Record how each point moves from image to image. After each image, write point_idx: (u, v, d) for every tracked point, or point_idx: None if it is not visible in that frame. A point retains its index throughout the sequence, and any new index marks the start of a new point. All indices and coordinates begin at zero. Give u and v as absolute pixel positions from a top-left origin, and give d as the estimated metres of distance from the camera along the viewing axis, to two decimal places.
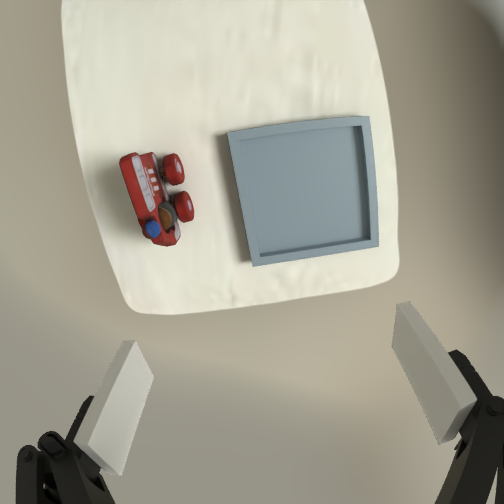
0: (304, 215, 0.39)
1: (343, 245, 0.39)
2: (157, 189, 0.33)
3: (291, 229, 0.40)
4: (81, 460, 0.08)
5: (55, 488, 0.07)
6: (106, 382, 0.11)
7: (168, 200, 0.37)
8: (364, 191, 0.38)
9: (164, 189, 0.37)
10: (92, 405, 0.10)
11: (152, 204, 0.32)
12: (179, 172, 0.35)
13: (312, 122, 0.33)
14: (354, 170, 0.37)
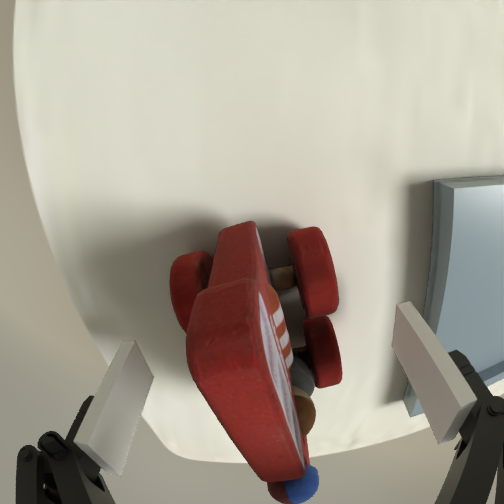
0: (497, 333, 0.17)
1: None
2: (292, 359, 0.11)
3: (475, 355, 0.18)
4: (81, 460, 0.08)
5: (55, 488, 0.07)
6: (106, 382, 0.11)
7: None
8: None
9: None
10: (92, 405, 0.10)
11: None
12: None
13: None
14: None
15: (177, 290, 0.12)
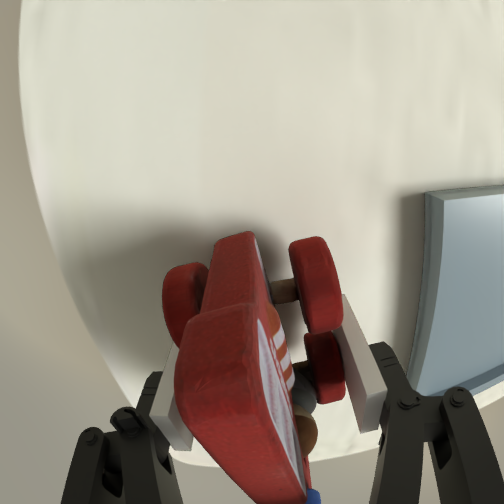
0: (491, 338, 0.17)
1: None
2: (293, 380, 0.10)
3: (469, 360, 0.18)
4: (155, 435, 0.09)
5: (118, 472, 0.08)
6: (174, 355, 0.12)
7: None
8: None
9: None
10: (163, 378, 0.11)
11: None
12: None
13: None
14: None
15: (170, 306, 0.11)
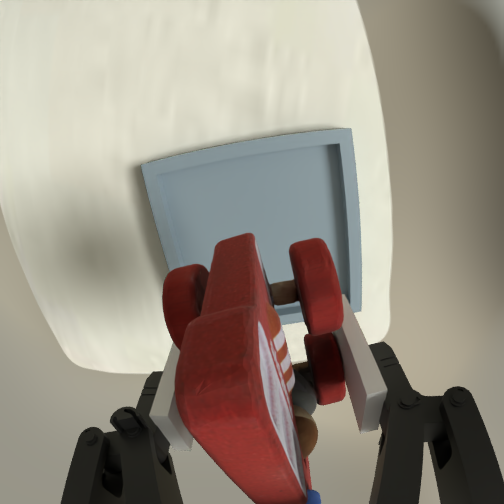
0: None
1: None
2: (293, 381, 0.10)
3: None
4: (155, 435, 0.09)
5: (118, 472, 0.08)
6: (174, 355, 0.12)
7: None
8: (343, 238, 0.27)
9: None
10: (163, 378, 0.11)
11: None
12: None
13: (261, 142, 0.23)
14: (328, 209, 0.26)
15: (170, 307, 0.11)
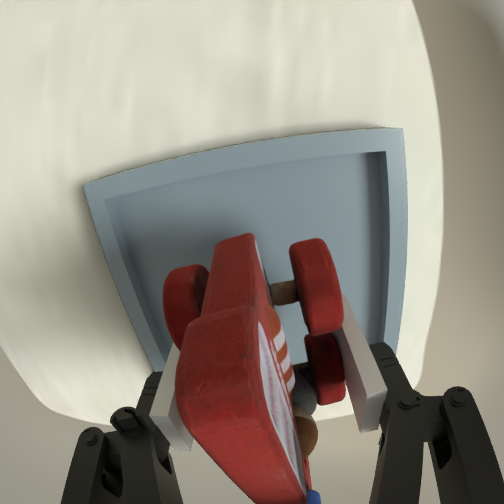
0: None
1: None
2: (293, 381, 0.10)
3: None
4: (155, 435, 0.09)
5: (118, 472, 0.08)
6: (174, 355, 0.12)
7: None
8: (378, 287, 0.19)
9: None
10: (163, 378, 0.11)
11: None
12: None
13: (264, 146, 0.14)
14: (362, 248, 0.17)
15: (170, 307, 0.11)
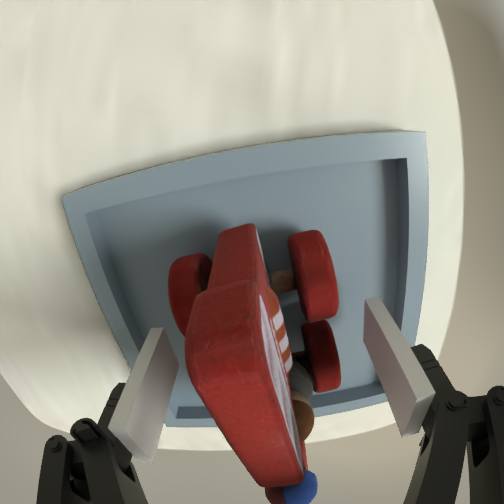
0: None
1: (336, 405, 0.18)
2: (291, 363, 0.11)
3: None
4: (115, 447, 0.09)
5: (83, 479, 0.08)
6: (138, 368, 0.12)
7: None
8: (392, 308, 0.16)
9: None
10: (125, 391, 0.10)
11: None
12: None
13: (267, 152, 0.12)
14: (376, 267, 0.15)
15: (175, 292, 0.12)
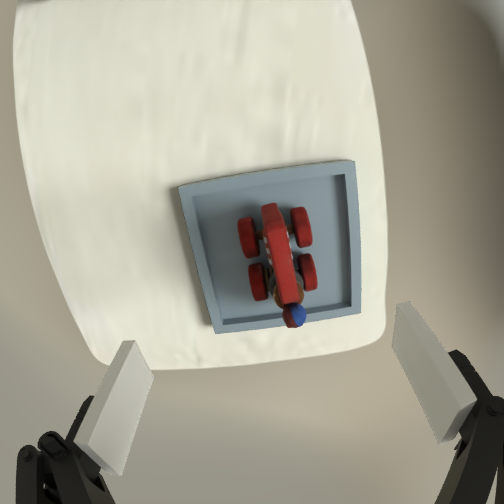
0: None
1: (319, 313, 0.34)
2: (292, 258, 0.27)
3: None
4: (81, 460, 0.08)
5: (55, 488, 0.07)
6: (106, 382, 0.11)
7: None
8: (346, 251, 0.33)
9: None
10: (92, 405, 0.10)
11: None
12: None
13: (281, 172, 0.28)
14: (334, 228, 0.32)
15: (242, 230, 0.28)
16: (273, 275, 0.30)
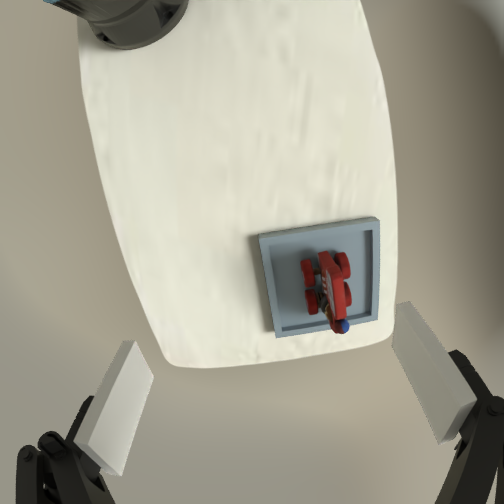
0: None
1: (349, 320, 0.48)
2: None
3: None
4: (81, 460, 0.08)
5: (55, 488, 0.07)
6: (106, 382, 0.11)
7: None
8: (369, 278, 0.46)
9: None
10: (92, 405, 0.10)
11: None
12: None
13: (331, 229, 0.41)
14: (362, 263, 0.45)
15: (306, 270, 0.41)
16: (324, 298, 0.43)
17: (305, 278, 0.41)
